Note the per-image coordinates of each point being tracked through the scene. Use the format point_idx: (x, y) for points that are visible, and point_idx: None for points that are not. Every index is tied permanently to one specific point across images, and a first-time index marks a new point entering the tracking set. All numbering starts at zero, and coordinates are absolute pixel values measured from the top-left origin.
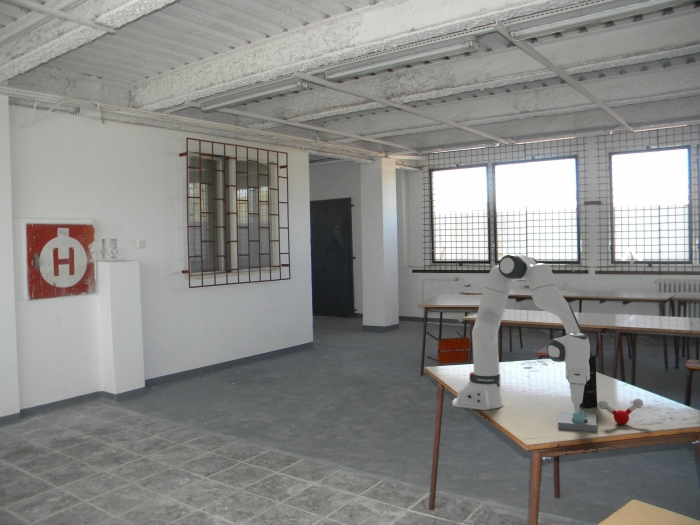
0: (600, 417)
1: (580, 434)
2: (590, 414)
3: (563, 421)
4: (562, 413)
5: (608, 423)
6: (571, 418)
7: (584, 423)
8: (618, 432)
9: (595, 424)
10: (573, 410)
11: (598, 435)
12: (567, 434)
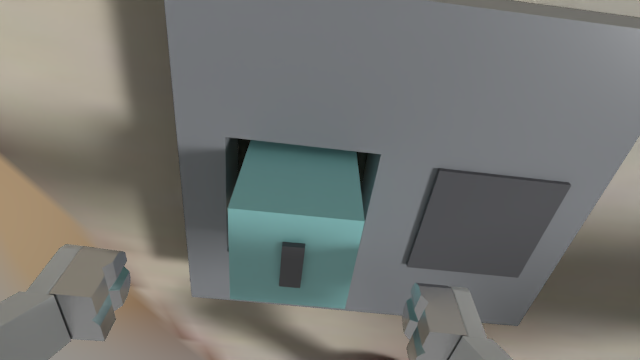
0: (552, 315)
1: (91, 151)
2: (499, 298)
3: (226, 45)
4: (580, 71)
5: None
6: (367, 145)
7: (216, 230)
8: (235, 345)
9: (214, 292)
10: (350, 224)
11: (127, 256)
12: (31, 41)
